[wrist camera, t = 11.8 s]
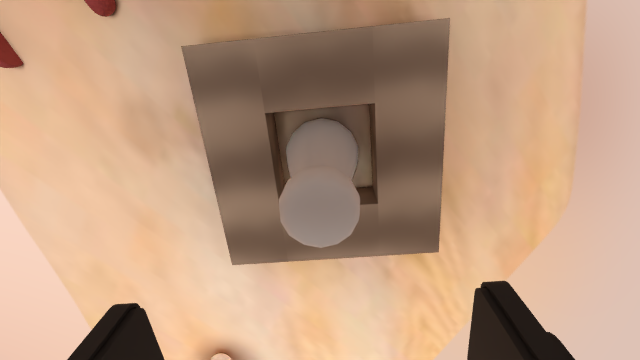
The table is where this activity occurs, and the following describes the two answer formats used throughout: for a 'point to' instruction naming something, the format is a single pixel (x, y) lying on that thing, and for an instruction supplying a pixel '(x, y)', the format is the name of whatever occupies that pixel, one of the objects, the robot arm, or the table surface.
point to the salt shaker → (320, 184)
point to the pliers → (6, 57)
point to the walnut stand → (322, 92)
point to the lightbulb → (220, 357)
